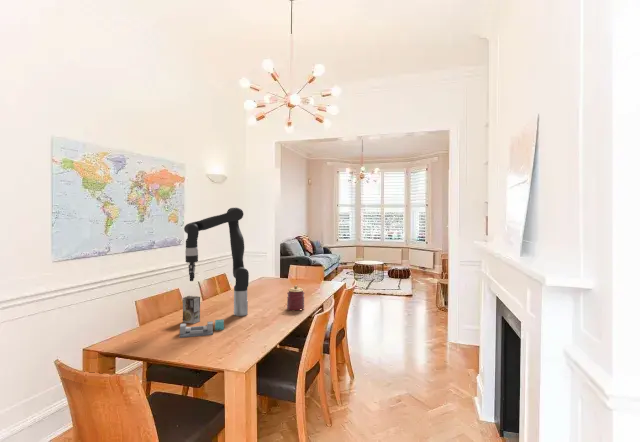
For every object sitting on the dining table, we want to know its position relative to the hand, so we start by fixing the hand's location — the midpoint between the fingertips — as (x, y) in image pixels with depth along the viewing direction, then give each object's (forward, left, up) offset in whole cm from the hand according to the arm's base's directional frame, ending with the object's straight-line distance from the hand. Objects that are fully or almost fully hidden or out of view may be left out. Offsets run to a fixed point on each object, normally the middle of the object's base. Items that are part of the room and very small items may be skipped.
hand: (192, 279), depth 217 cm
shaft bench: (-4, +19, -28) cm, 34 cm away
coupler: (-17, +15, -28) cm, 36 cm away
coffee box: (0, -4, -28) cm, 29 cm away
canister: (-73, -16, -28) cm, 79 cm away
